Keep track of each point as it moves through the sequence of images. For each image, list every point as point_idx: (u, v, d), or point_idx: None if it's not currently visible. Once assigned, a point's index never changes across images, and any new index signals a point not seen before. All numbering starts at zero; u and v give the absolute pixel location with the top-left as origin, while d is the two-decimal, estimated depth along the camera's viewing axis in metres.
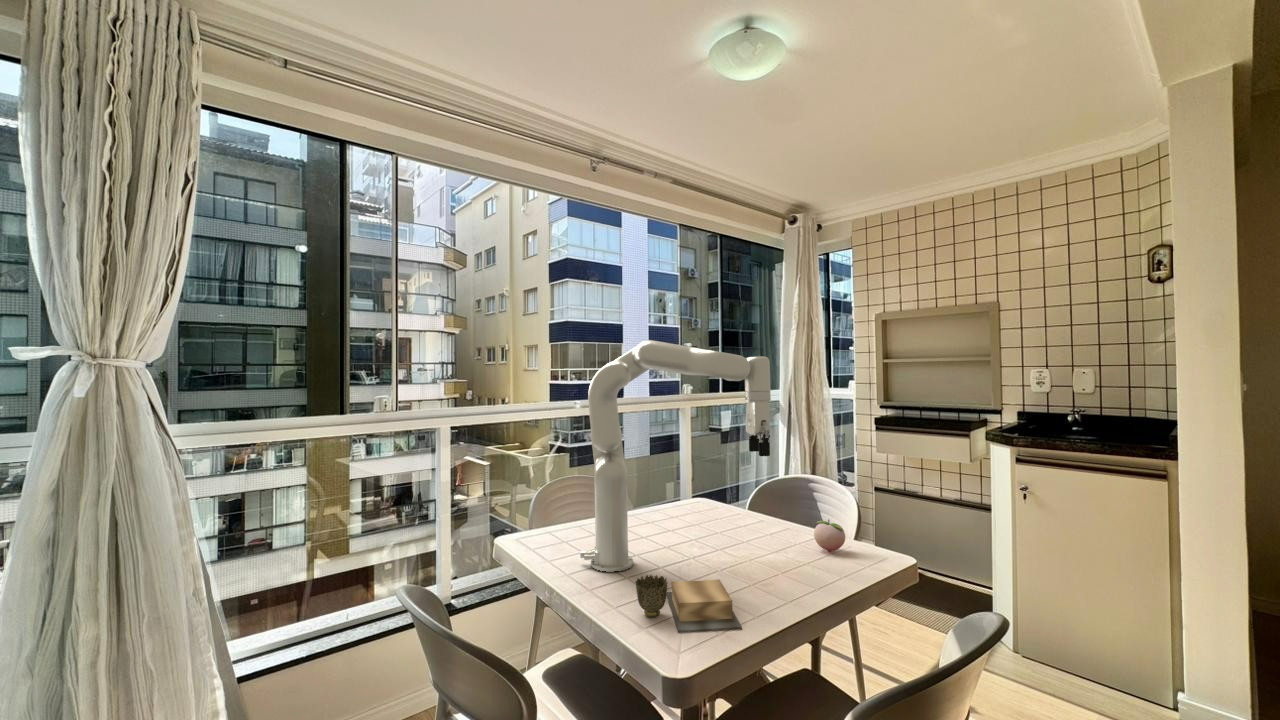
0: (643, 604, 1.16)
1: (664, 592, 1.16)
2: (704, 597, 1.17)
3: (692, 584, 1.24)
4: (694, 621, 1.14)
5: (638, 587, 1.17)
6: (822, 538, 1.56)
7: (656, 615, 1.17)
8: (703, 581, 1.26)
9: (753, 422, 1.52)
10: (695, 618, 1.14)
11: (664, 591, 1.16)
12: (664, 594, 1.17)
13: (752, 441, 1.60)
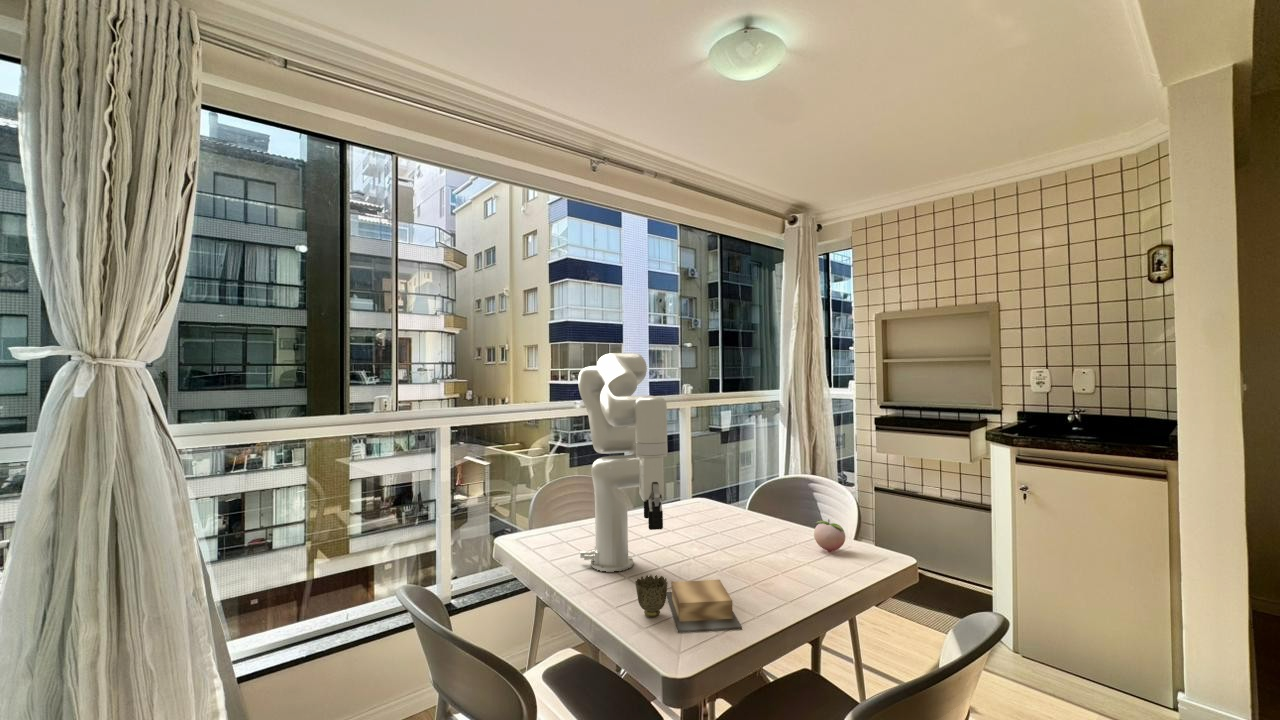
0: (643, 604, 1.16)
1: (664, 592, 1.16)
2: (704, 597, 1.17)
3: (692, 584, 1.24)
4: (694, 621, 1.14)
5: (638, 587, 1.17)
6: (822, 538, 1.56)
7: (656, 615, 1.17)
8: (703, 581, 1.26)
9: (642, 484, 1.17)
10: (695, 618, 1.14)
11: (664, 591, 1.16)
12: (664, 594, 1.17)
13: (647, 505, 1.25)
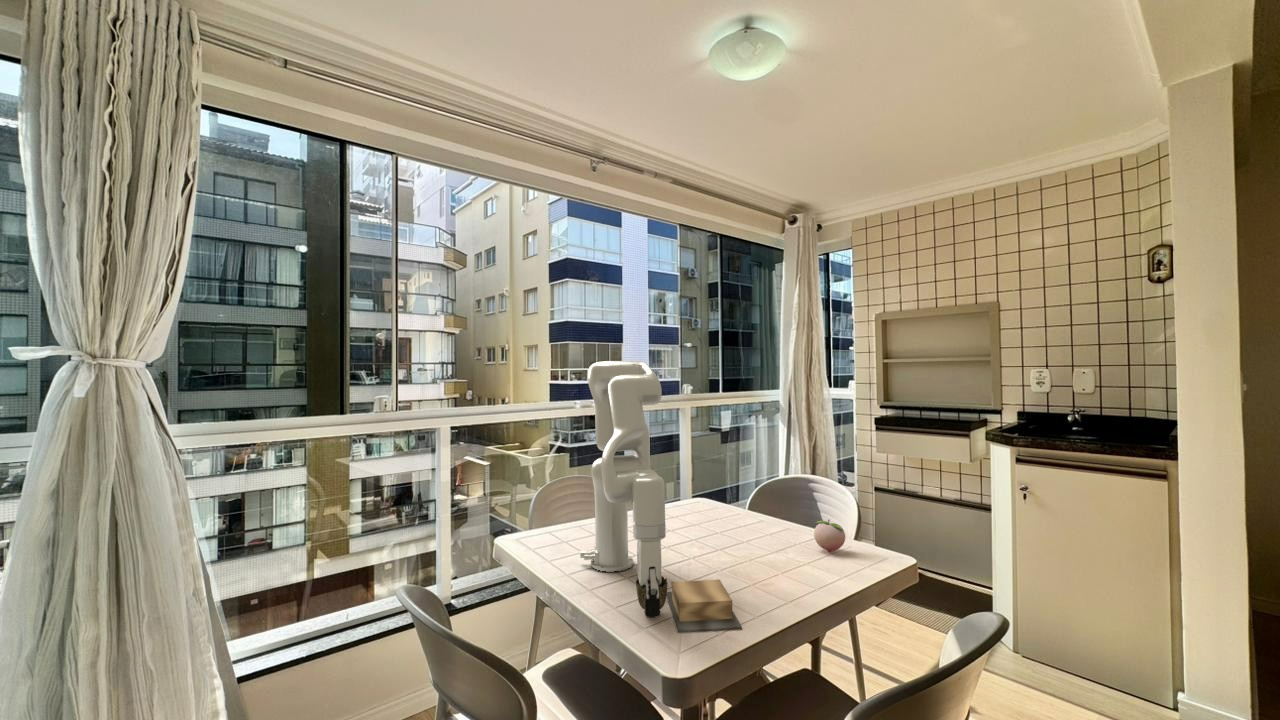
0: (643, 604, 1.16)
1: (664, 592, 1.17)
2: (704, 597, 1.17)
3: (692, 584, 1.24)
4: (694, 621, 1.14)
5: (638, 587, 1.17)
6: (822, 538, 1.56)
7: None
8: (703, 581, 1.26)
9: (639, 568, 1.15)
10: (695, 618, 1.14)
11: (664, 591, 1.17)
12: (664, 594, 1.17)
13: None
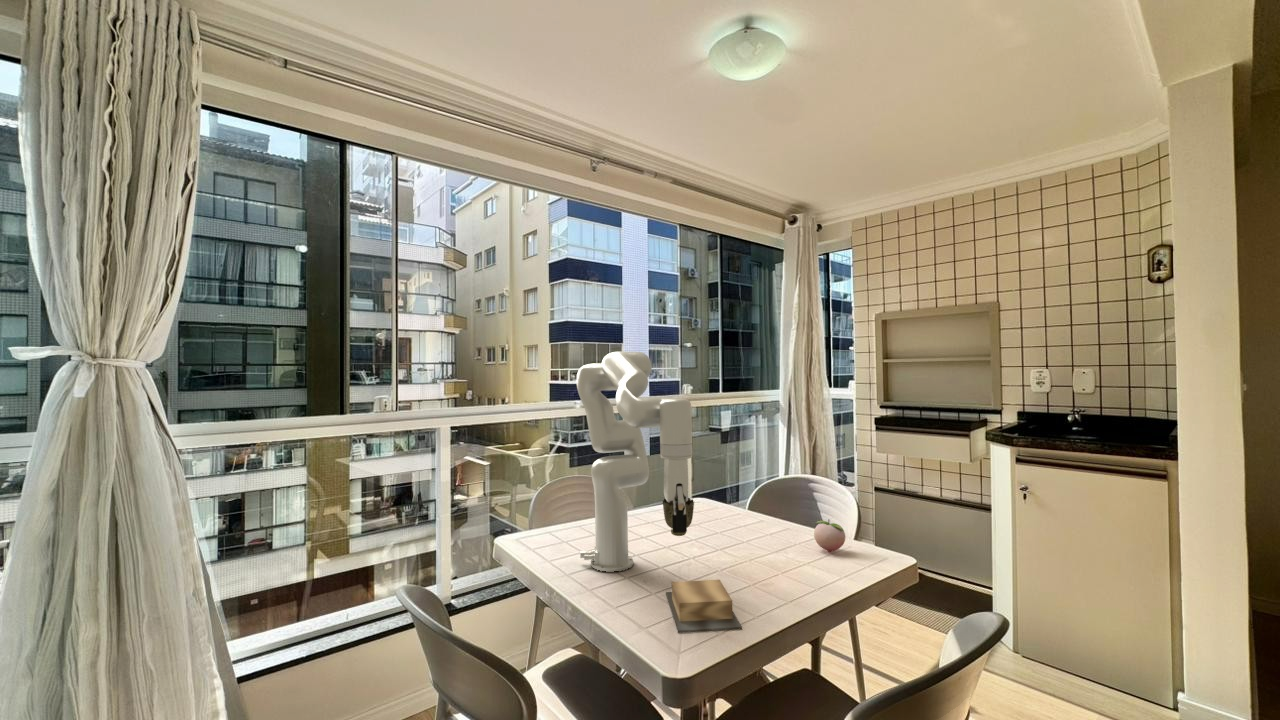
0: (670, 522, 1.18)
1: (691, 510, 1.19)
2: (704, 597, 1.17)
3: (692, 584, 1.24)
4: (694, 621, 1.14)
5: (665, 505, 1.19)
6: (822, 538, 1.56)
7: (683, 533, 1.19)
8: (703, 581, 1.26)
9: (667, 485, 1.17)
10: (695, 618, 1.14)
11: (691, 509, 1.18)
12: (691, 512, 1.19)
13: None
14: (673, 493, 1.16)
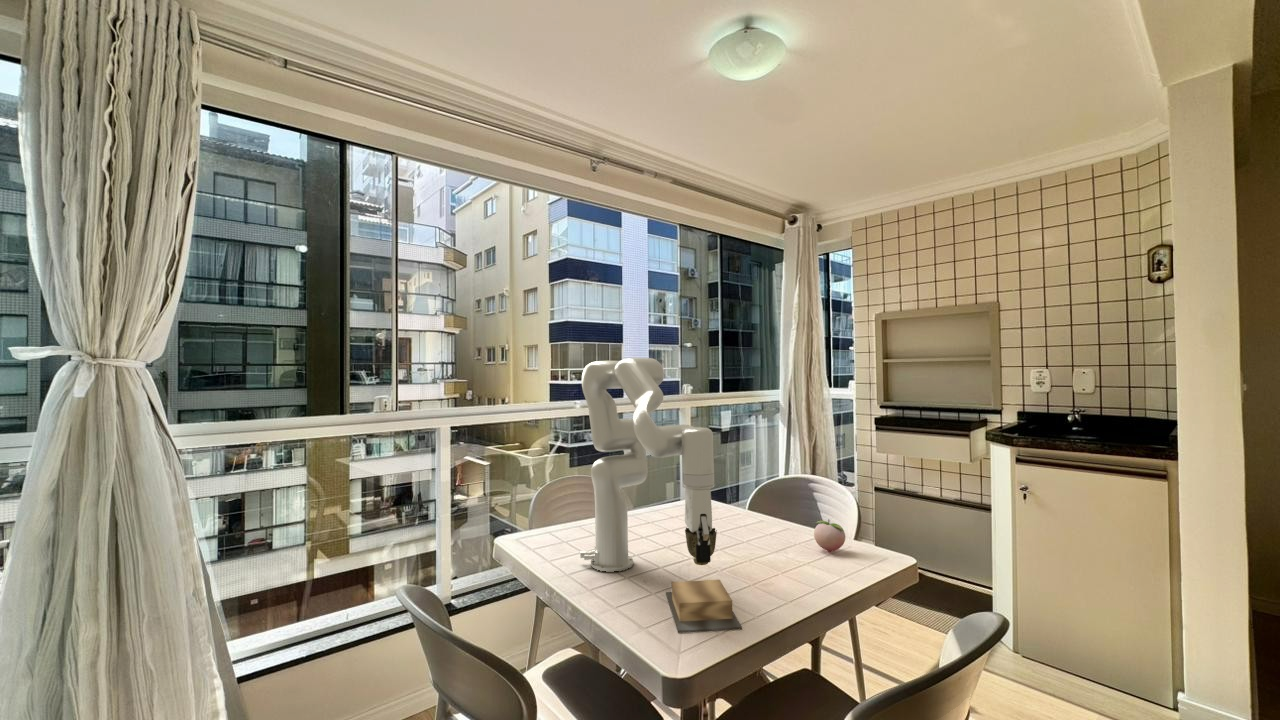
0: (693, 551, 1.19)
1: (714, 539, 1.19)
2: (704, 597, 1.17)
3: (692, 584, 1.24)
4: (694, 621, 1.14)
5: (688, 534, 1.19)
6: (822, 538, 1.56)
7: None
8: (703, 581, 1.26)
9: (690, 516, 1.17)
10: (695, 618, 1.14)
11: (714, 538, 1.19)
12: (714, 541, 1.19)
13: None
14: (697, 523, 1.16)
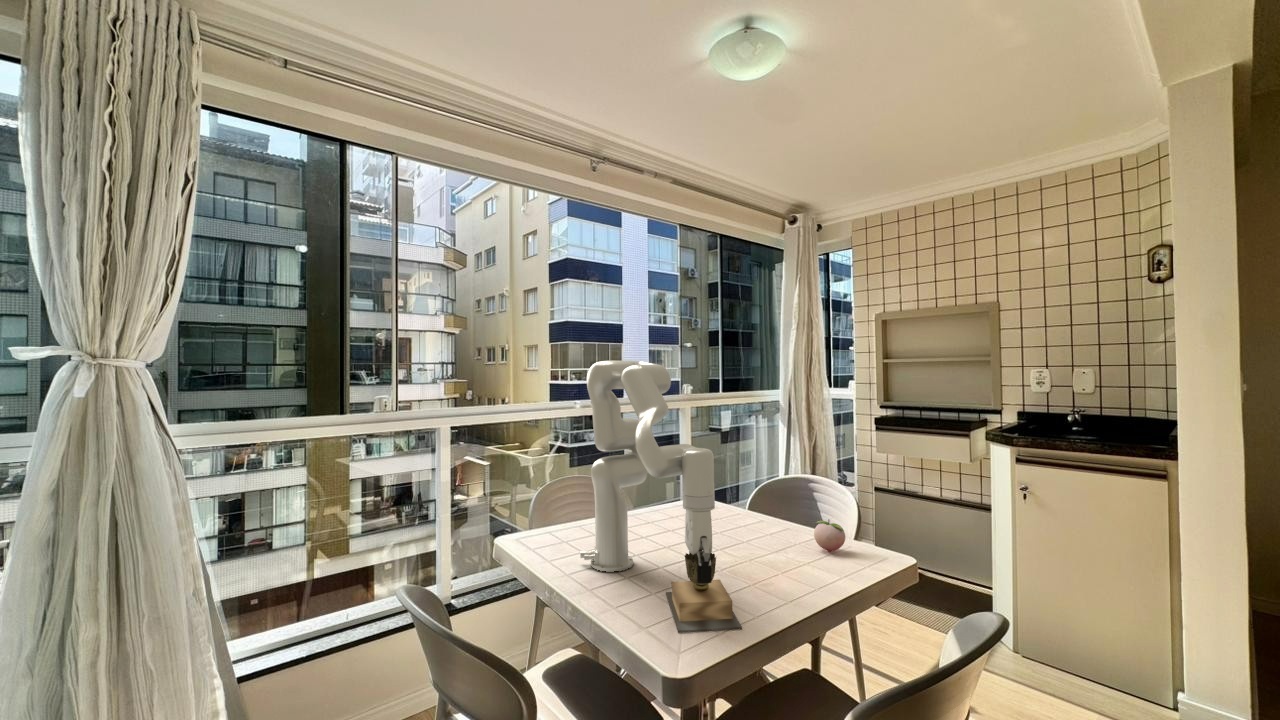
0: (693, 578, 1.19)
1: (713, 566, 1.20)
2: (704, 597, 1.17)
3: (692, 584, 1.24)
4: (694, 621, 1.14)
5: (688, 561, 1.20)
6: (822, 538, 1.56)
7: (705, 588, 1.20)
8: None
9: (690, 537, 1.17)
10: (695, 618, 1.14)
11: (713, 565, 1.20)
12: (713, 568, 1.20)
13: None
14: (697, 546, 1.16)
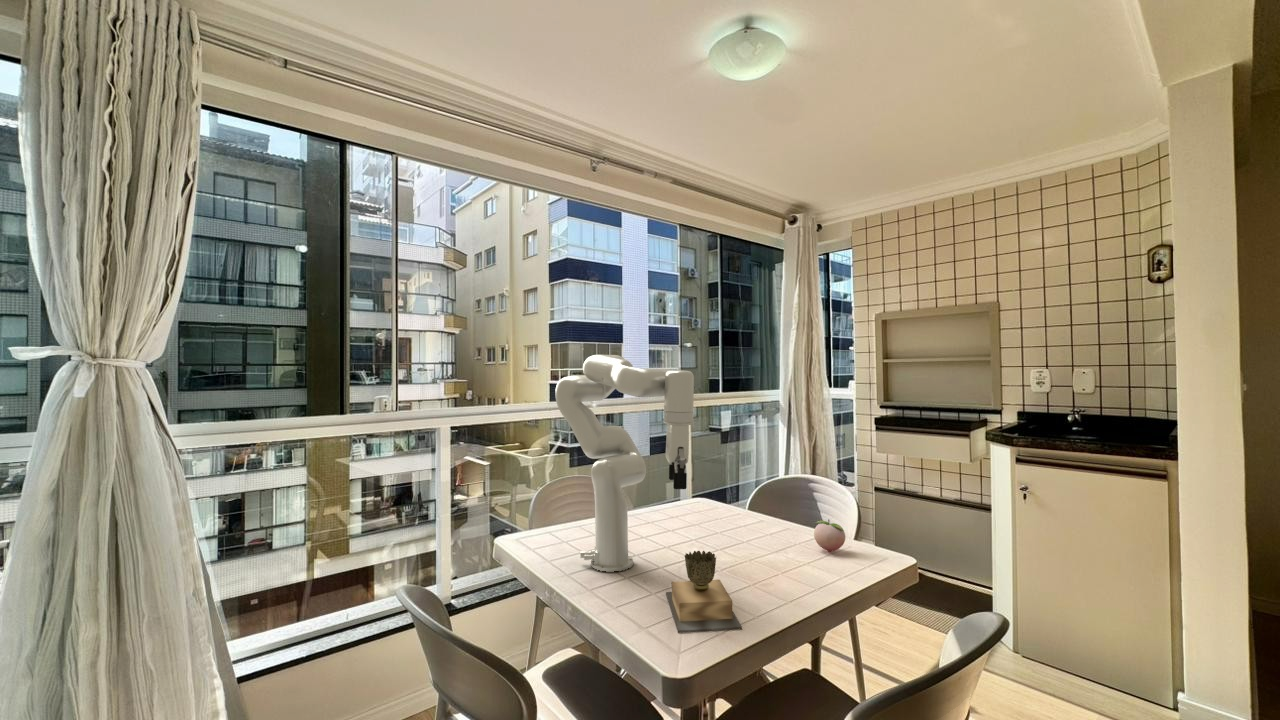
0: (693, 578, 1.19)
1: (713, 566, 1.20)
2: (704, 597, 1.17)
3: (692, 584, 1.24)
4: (694, 621, 1.14)
5: (688, 561, 1.20)
6: (822, 538, 1.56)
7: (705, 588, 1.20)
8: None
9: (669, 448, 1.29)
10: (695, 618, 1.14)
11: (713, 565, 1.20)
12: (713, 568, 1.20)
13: (672, 468, 1.37)
14: (675, 455, 1.28)
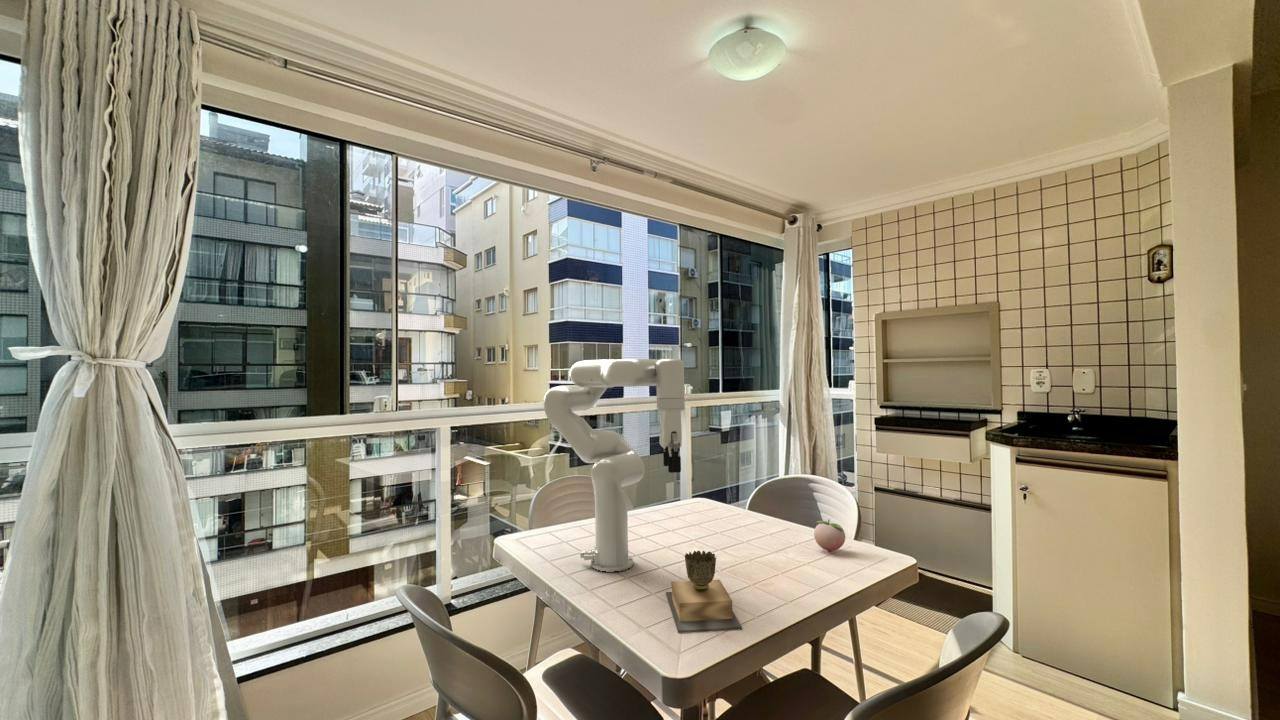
0: (693, 578, 1.19)
1: (713, 566, 1.20)
2: (704, 597, 1.17)
3: (692, 584, 1.24)
4: (694, 621, 1.14)
5: (688, 561, 1.20)
6: (822, 538, 1.56)
7: (705, 588, 1.20)
8: None
9: (663, 433, 1.34)
10: (695, 618, 1.14)
11: (713, 565, 1.20)
12: (713, 568, 1.20)
13: (666, 455, 1.42)
14: (668, 440, 1.32)
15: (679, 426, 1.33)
